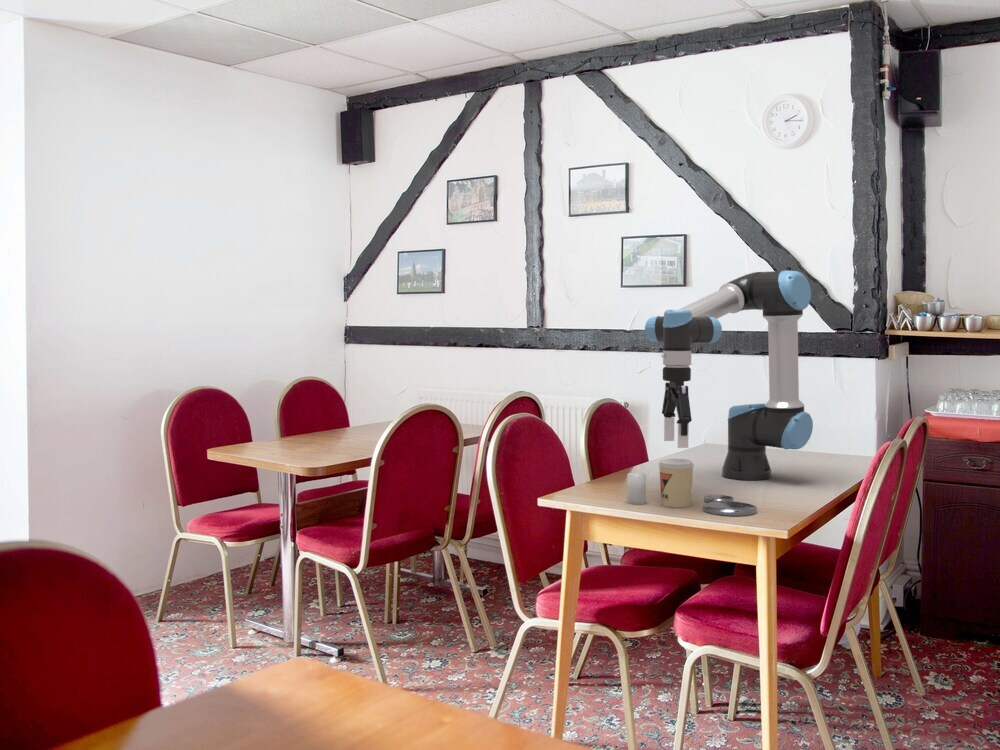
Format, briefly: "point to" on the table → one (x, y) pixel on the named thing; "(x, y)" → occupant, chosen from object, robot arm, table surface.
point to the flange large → (729, 508)
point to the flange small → (717, 498)
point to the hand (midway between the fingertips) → (675, 444)
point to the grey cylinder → (636, 488)
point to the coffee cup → (676, 482)
